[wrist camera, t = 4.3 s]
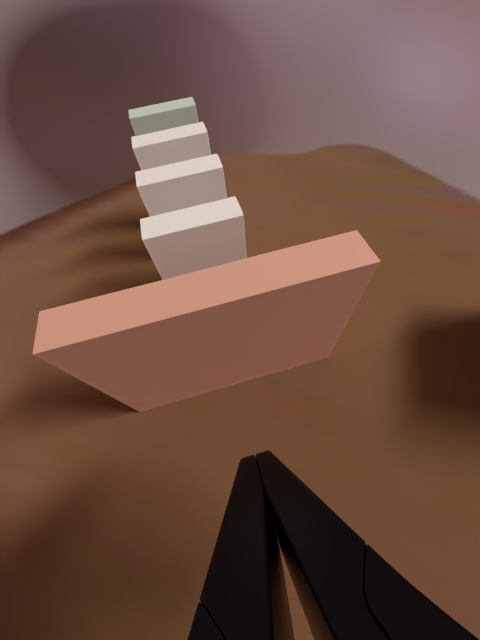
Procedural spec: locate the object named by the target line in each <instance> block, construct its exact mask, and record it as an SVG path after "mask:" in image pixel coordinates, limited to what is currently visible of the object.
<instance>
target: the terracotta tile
mask: <svg viewBox="0 0 480 640" xmlns="http://www.w3.org/2000/svg"><path fill="white" fill-rule="evenodd" d="M380 262H381V261H380V260H379V259H378V257H377V256H376V255H375V253H374V252H373V251H372V249H371V248H370V247H369V245H368V244H367V243H366V242H365V240H364V239H363V238H362V236H361V235H360V234H359V232H358V231H357V230H355V231H352V232H348V233H344V234H340V235H336V236H332V237H328V238H324V239H320V240H316V241H312V242H309V243H305V244H301V245H297V246H293V247H289V248H285V249H281V250H277V251H273V252H270V253H266V254H262V255H258V256H254V257H250V258H246V259H242V260H238V261H234V262H231V263H227V264H223V265H219V266H215V267H211V268H207V269H203V270H199V271H195V272H192V273H188V274H184V275H180V276H176V277H172V278H168V279H164V280H160V281H156V282H153V283H149V284H145V285H141V286H137V287H133V288H129V289H125V290H121V291H117V292H114V293H110V294H106V295H102V296H98V297H94V298H90V299H86V300H82V301H78V302H75V303H71V304H67V305H63V306H59V307H55V308H51V309H47V310H43V311H39V317H38V324H37V330H36V336H35V342H34V348H33V354H32V355H34V356H36V357H38V358H40V359H42V360H44V361H45V362H47V363H49V364H51V365H53V366H55V367H57V368H59V369H60V370H62V371H64V372H66V373H68V374H70V375H72V376H73V377H75V378H77V379H79V380H81V381H83V382H85V383H87V384H88V385H90V386H92V387H94V388H96V389H98V390H100V391H101V392H103V393H105V394H107V395H109V396H111V397H113V398H115V399H116V400H118V401H120V402H122V403H124V404H126V405H128V406H129V407H131V408H133V409H135V410H137V411H139V412H142V411H145V410H149V409H152V408H156V407H159V406H163V405H166V404H170V403H173V402H176V401H180V400H183V399H187V398H190V397H194V396H197V395H201V394H204V393H207V392H211V391H214V390H218V389H221V388H225V387H228V386H232V385H235V384H238V383H242V382H245V381H249V380H252V379H256V378H259V377H263V376H266V375H269V374H273V373H276V372H280V371H283V370H287V369H290V368H294V367H297V366H300V365H304V364H307V363H311V362H314V361H318V360H321V359H325V358H328V357H330V355H331V353H332V351H333V349H334V347H335V346H336V344H337V342H338V340H339V338H340V336H341V334H342V333H343V331H344V329H345V327H346V325H347V323H348V321H349V320H350V318H351V316H352V314H353V312H354V310H355V308H356V307H357V305H358V303H359V301H360V299H361V297H362V295H363V293H364V292H365V290H366V288H367V286H368V284H369V282H370V280H371V279H372V277H373V275H374V273H375V271H376V269H377V267H378V266H379V264H380Z"/></svg>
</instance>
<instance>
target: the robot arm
mask: <svg viewBox="0 0 480 640" xmlns="http://www.w3.org/2000/svg"><path fill="white" fill-rule="evenodd" d="M274 527H275V528H274ZM275 531H276V532H275ZM277 538H278V539H277ZM278 542H279V544H278ZM279 545H280V548H281V551H282V554H283V557H284V560H285V562H286V565H287V568H288V570H289V573H290V576H291V578H292V581H293V584H294V586H295V589H296V592H297V594H298V597H299V600H300V602H301V605H302V607H303V610H304V613H305V615H306V618H307V621H308V623H309V626H310V629H311V631H312V634H313V637H314V639H315V640H479V639H478V638H476V637H475V636H474V635H473V634H471V633H470V632H469V631H468V630H466V629H465V628H464V627H463V626H461V625H460V624H459V623H458V622H456V621H455V620H454V619H453V618H451V617H450V616H449V615H448V614H446V613H445V612H444V611H443V610H442V609H440V608H439V607H438V606H437V605H436V604H434V603H433V602H432V601H431V600H430V599H428V598H427V597H426V596H425V595H423V594H422V593H421V592H420V591H419V590H417V589H416V588H415V587H414V586H413V585H411V584H410V583H409V582H408V581H407V580H406V579H405V578H404V577H403V576H402V575H400V574H399V573H398V572H397V571H396V570H395V569H394V568H393V567H392V566H391V565H389V564H388V563H387V562H386V561H385V560H384V559H383V558H382V557H381V556H380V555H379V554H378V553H377V552H376V551H375V550H374V549H372V548H371V547H370V546H369V545H366V543H365V541H364V540H363V539H362V538H361V537H360V536H359V535H358V534H357V533H355V532H354V531H353V530H352V529H351V528H350V527H349V526H348V525H347V524H346V523H345V522H344V521H343V520H342V519H341V518H340V517H339V516H338V515H337V514H336V513H335V512H333V511H332V510H331V509H330V508H329V507H328V506H327V505H326V504H325V503H324V502H323V501H322V500H321V499H320V498H319V497H318V496H317V495H316V494H315V493H314V492H313V491H311V490H310V489H309V488H308V487H307V486H306V485H305V484H304V483H303V482H302V481H301V480H300V479H299V478H298V477H297V476H296V475H295V474H294V473H293V472H292V471H291V470H289V469H288V468H287V467H286V466H285V465H284V464H283V463H282V462H281V461H280V460H279V459H278V458H277V457H276V456H275V455H274V454H273V453H272V452H271V451H269V450H267V451H264V452H260V453H257V454H256V457H255V456H254V455H251V456H248V457H244V458H242V459H241V460H240V463H239V466H238V470H237V473H236V477H235V480H234V483H233V487H232V490H231V494H230V497H229V501H228V504H227V507H226V511H225V514H224V518H223V521H222V524H221V528H220V531H219V535H218V538H217V542H216V545H215V548H214V552H213V555H212V559H211V562H210V566H209V569H208V572H207V576H206V579H205V583H204V586H203V590H202V593H201V596H200V601H201V602H199V603H198V606H197V609H196V613H195V616H194V620H193V623H192V627H191V630H190V633H189V636H188V640H295V639H294V633H293V627H292V621H291V614H290V608H289V602H288V596H287V589H286V583H285V577H284V571H283V565H282V559H281V553H280V548H279Z"/></svg>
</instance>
